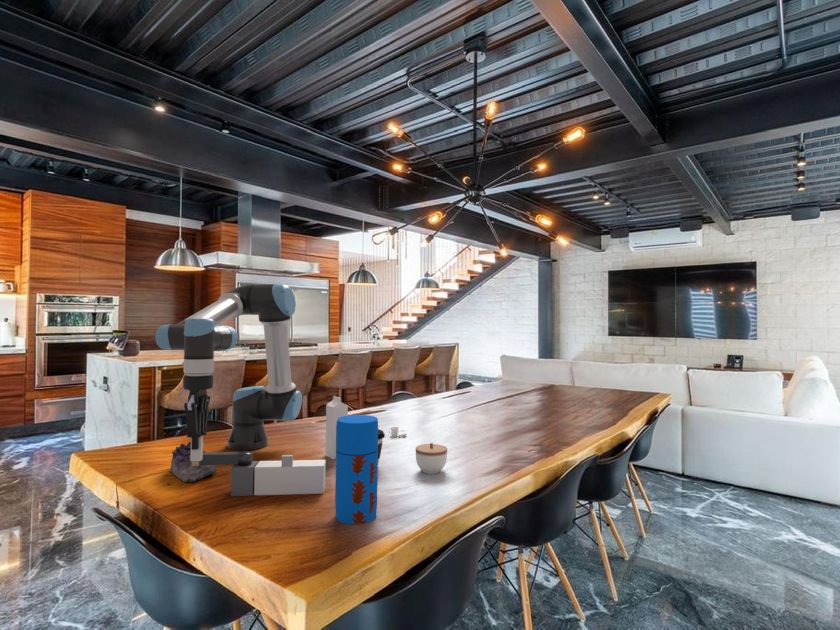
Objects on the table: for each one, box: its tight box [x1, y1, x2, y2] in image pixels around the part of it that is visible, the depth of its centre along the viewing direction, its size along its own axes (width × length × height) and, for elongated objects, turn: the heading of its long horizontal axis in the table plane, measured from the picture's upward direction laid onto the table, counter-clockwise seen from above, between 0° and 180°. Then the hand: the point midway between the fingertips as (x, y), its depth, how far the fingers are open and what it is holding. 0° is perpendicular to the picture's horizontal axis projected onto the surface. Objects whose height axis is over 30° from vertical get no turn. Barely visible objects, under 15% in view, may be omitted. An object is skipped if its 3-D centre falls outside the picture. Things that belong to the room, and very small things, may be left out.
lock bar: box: [192, 450, 253, 466], centre depth 135 cm, size 4×16×3 cm, turn 96°
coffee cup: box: [378, 428, 386, 464], centre depth 160 cm, size 11×11×12 cm
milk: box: [325, 395, 349, 460], centre depth 172 cm, size 6×6×22 cm
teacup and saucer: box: [388, 426, 407, 438], centre depth 203 cm, size 9×8×4 cm
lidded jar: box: [415, 442, 448, 475], centre depth 157 cm, size 11×11×9 cm
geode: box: [169, 441, 218, 483], centre depth 151 cm, size 20×12×10 cm, turn 49°
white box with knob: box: [230, 454, 327, 497], centre depth 137 cm, size 6×26×11 cm, turn 96°
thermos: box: [334, 414, 379, 525], centre depth 120 cm, size 11×11×25 cm
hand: (196, 460), depth 128 cm, fingers closed
